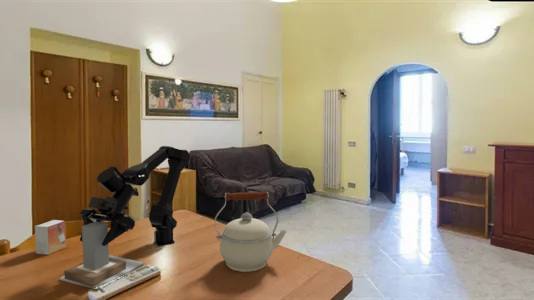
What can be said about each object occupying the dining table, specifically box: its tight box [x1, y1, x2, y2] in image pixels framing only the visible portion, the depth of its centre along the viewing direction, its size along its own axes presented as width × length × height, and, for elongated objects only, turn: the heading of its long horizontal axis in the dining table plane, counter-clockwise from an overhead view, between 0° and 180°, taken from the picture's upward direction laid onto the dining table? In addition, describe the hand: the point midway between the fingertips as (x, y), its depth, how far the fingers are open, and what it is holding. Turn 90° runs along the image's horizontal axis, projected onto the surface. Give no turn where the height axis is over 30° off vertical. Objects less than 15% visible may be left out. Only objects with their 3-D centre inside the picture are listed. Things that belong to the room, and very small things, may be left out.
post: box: [81, 221, 110, 270], centre depth 99 cm, size 5×5×13 cm
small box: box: [34, 219, 67, 256], centre depth 118 cm, size 8×6×10 cm
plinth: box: [59, 254, 145, 290], centre depth 102 cm, size 18×16×4 cm
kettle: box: [214, 191, 288, 273], centre depth 109 cm, size 25×18×25 cm
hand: (91, 243), depth 97 cm, fingers open, 9 cm apart
